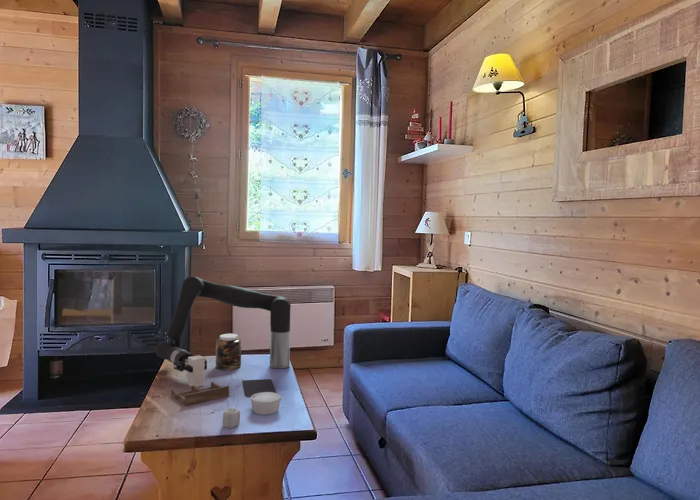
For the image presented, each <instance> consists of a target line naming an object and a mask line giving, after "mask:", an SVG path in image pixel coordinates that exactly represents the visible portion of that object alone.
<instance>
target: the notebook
mask: <svg viewBox="0 0 700 500" xmlns="http://www.w3.org/2000/svg"><path fill="white" fill-rule="evenodd" d="M241 383H242V388H243V394H244V397H245V398H250V399H251V396H252V395H254V394H256V393H261V392H273V393H277V391H276V388H275V385H274V382H273V379H272V378H262V379H261V378H260V379H246V380H244V379H243V380H241Z"/></svg>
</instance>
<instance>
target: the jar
mask: <svg viewBox="0 0 700 500" xmlns="http://www.w3.org/2000/svg"><path fill="white" fill-rule="evenodd" d="M238 336H239V335H238V334H236V333H224V334H220V335H219V338H218V339H216V342H215V368H216V369H217V370H219V371H234V370H237V369H239V368H241V367H242V340H241V338H239V337H238Z"/></svg>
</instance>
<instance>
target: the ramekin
mask: <svg viewBox="0 0 700 500" xmlns="http://www.w3.org/2000/svg"><path fill="white" fill-rule="evenodd" d="M281 399H282V396H281V394H279V393H277V392H276V393H273V392H261V393H256V394H254V395H252V396H251V397H250V402H251V403H250V404H251V409H252V411H253V413H255V414H256V415H259V416H263V415H264V416H265V415H266V416H269V415H273V414H275V413H277V412H278V411H279V408H280V403H281Z"/></svg>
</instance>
